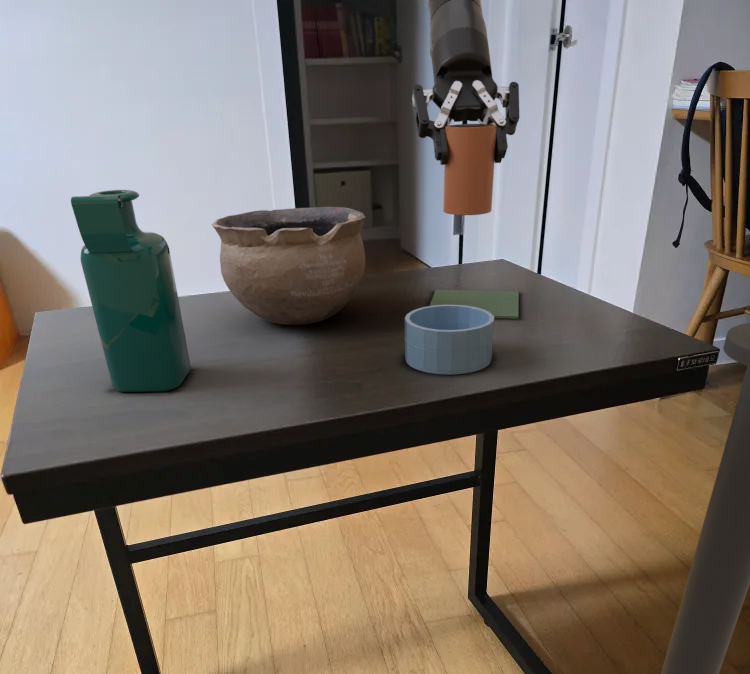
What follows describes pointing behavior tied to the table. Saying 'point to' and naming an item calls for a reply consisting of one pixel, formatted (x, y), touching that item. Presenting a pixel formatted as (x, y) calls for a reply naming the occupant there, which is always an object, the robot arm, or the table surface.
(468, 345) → the big pot
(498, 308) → the mat
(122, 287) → the green detergent bottle
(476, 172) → the small pot
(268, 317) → the ceramic bowl
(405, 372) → the table surface
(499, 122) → the robot arm
